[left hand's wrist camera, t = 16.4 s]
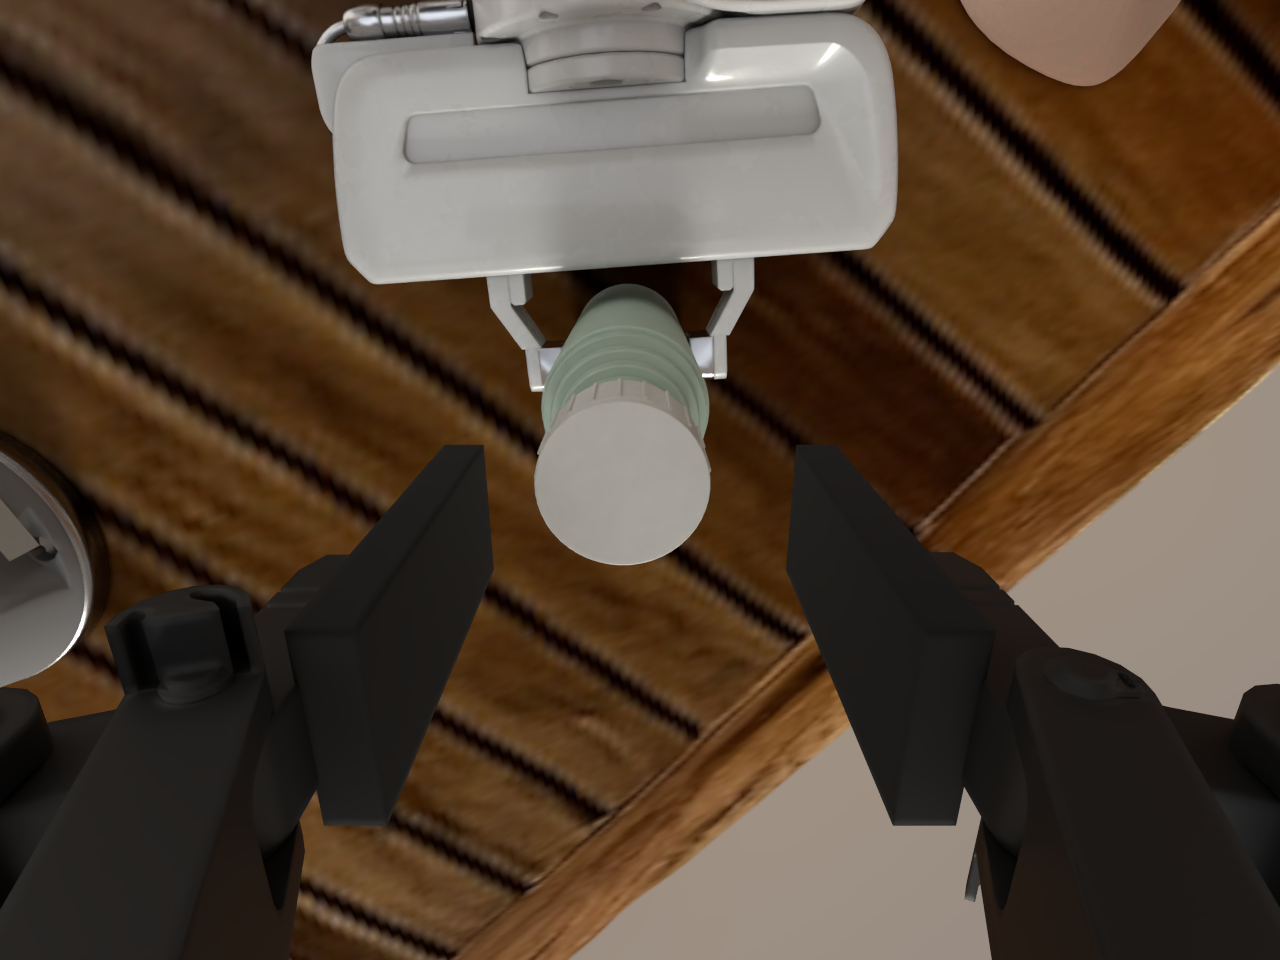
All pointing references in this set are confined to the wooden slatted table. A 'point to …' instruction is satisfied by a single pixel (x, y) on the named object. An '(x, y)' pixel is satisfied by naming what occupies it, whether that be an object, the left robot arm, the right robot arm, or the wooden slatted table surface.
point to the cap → (622, 473)
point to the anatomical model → (1071, 33)
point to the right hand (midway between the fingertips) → (630, 382)
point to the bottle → (627, 352)
